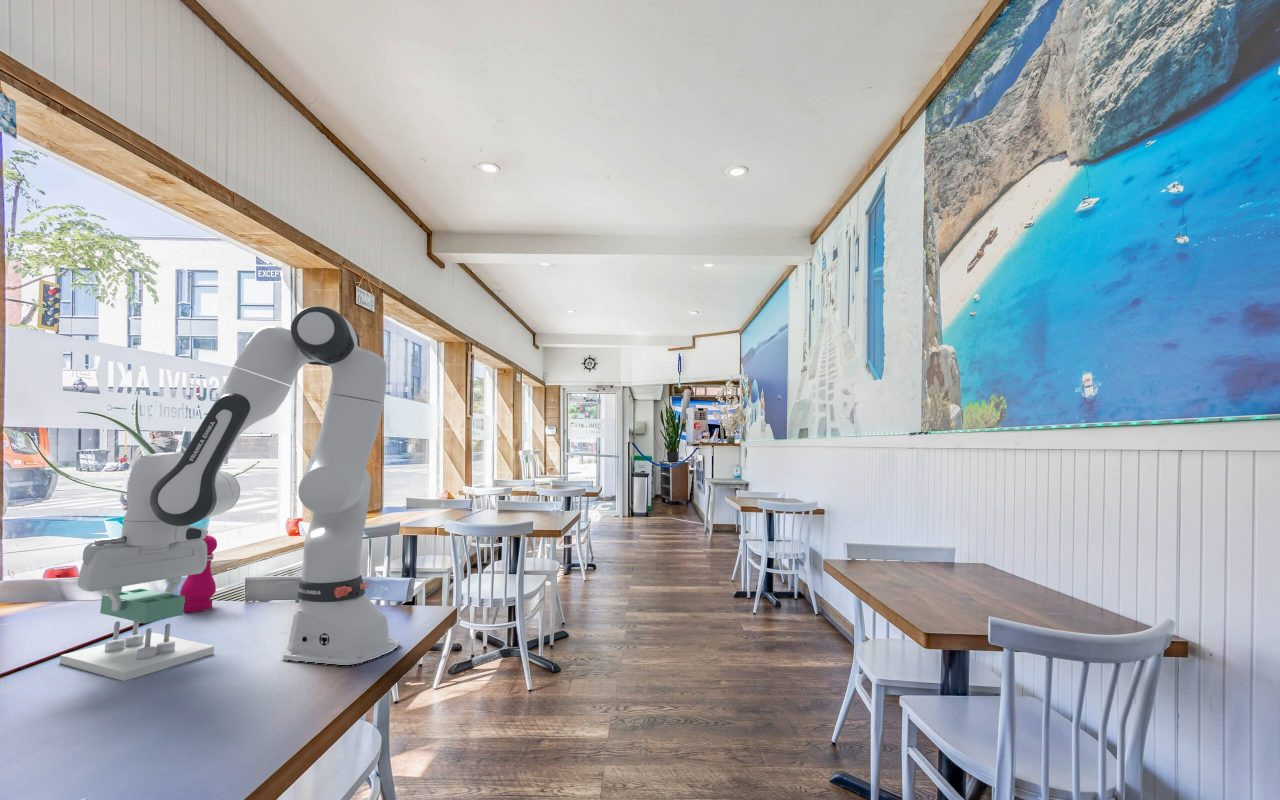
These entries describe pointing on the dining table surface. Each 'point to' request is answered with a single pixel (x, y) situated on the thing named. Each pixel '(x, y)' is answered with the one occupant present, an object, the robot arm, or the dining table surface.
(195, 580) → the pepper mill
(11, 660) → the dining table surface
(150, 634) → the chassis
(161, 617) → the green block with holes
